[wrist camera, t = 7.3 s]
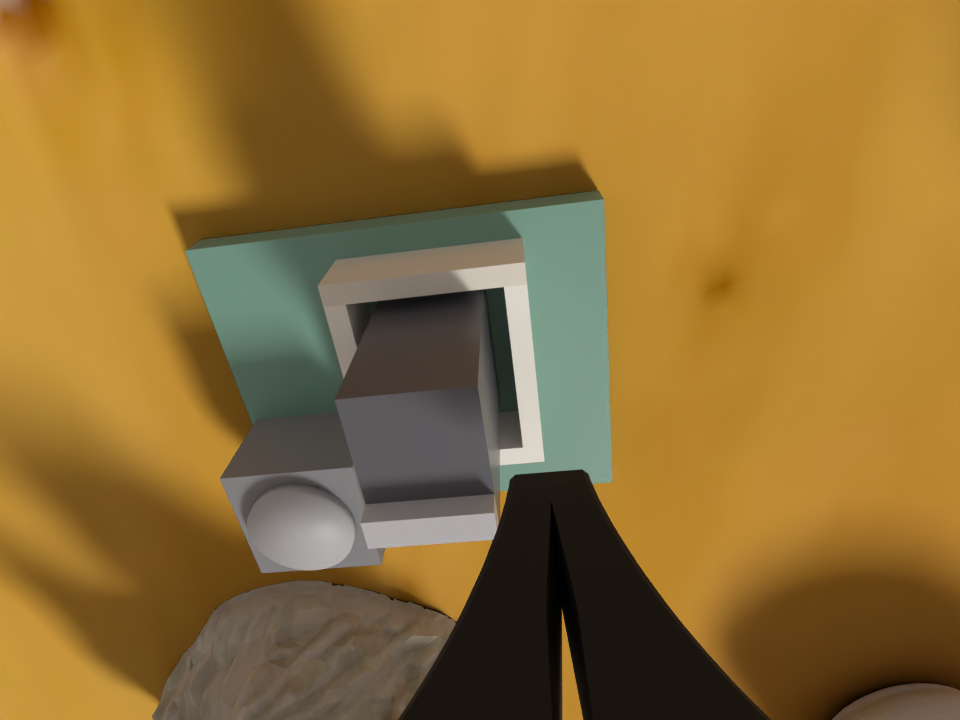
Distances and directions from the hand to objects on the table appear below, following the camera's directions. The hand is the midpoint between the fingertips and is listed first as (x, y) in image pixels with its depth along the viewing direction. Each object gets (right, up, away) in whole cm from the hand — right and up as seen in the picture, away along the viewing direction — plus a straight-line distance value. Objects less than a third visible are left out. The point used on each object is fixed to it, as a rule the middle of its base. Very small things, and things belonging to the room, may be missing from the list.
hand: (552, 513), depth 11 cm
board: (-3, +3, +9) cm, 10 cm away
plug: (-2, +3, +7) cm, 8 cm away
